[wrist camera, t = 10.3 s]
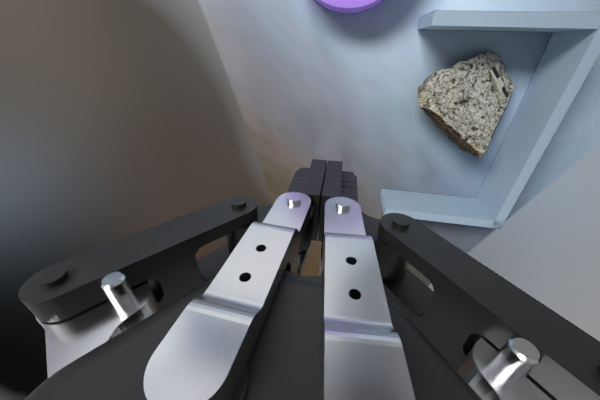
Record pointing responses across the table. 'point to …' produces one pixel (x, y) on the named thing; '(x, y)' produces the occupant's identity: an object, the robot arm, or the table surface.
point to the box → (528, 118)
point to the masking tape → (349, 5)
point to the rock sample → (468, 100)
